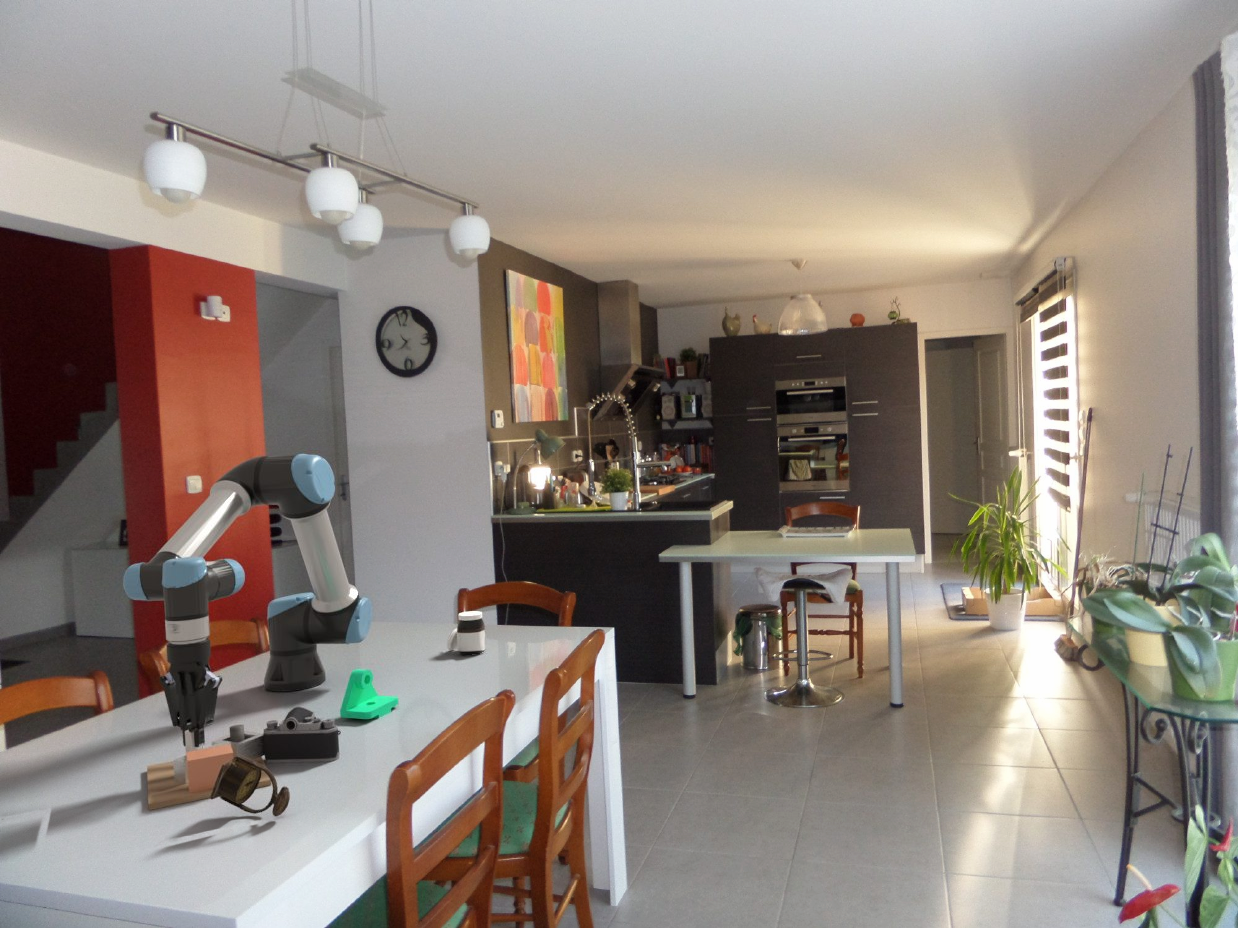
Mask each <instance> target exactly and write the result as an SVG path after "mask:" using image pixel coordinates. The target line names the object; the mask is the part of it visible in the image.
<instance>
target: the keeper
mask: <svg viewBox="0 0 1238 928" xmlns="http://www.w3.org/2000/svg"><path fill="white" fill-rule="evenodd" d="M205 748H206V747H205ZM185 756H186V758H187V765H188V781H189V793H193V792H198V791H203V790H208V789H213V788H214V785H215V782H216V779H217V777H218V774H219V772H220V769H221V767H222V765H223V764H225V763H227V762H229V761H231V760H232V759H234V758H233V750H232V747H231V744H228V745H222V746H217V747H211V748H206V749H204V748H203V749H200V750H195V751H189V752H186V751H185Z"/></svg>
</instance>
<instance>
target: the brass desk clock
mask: <svg viewBox="0 0 1238 928" xmlns="http://www.w3.org/2000/svg"><path fill="white" fill-rule="evenodd" d="M265 766H266V765H265ZM265 766H263V765H261V764H259V763H257V762H255V761H253V760H251V759H249V758H247V757H244V756H242V755H238V756H236V757H235V758H234V759H232V760H231V761H229V762H227V763H225V764H223V765H222V767H221V769H220V772H219V774H218V777H217V779H216V782H215V785H214V788H213V791H212V794H211V797H210V798H209V799H210V800H214V799H217V798H219V797H220V799H221V800H223V801H224V802H226V803H228V804H229V805H232V806H234V807H236V808H238V809H240V810H242V811H244V812H247V813H250V814H253V815H255V814H260V813H263V812H266V810H268V809H270V808H271V807H272V805H273V807H272V816H274V817H279V816H281V815H282V814H283V813H284V812H285V811H286V809H287V808H288V806H289V802H290V799H291V798H290V797H291V795H290V793H291V792H290V789H289V788H288V787H287V786H282V787H281V788H280V790H279V792H278V782H277V779H276V777H275V776H274V774H273V772H272V770H270V768H268V767H267V766H266V767H265ZM261 770H262V771H264V772H265V773H266V774H267V775H268V777H269V778H270V780H271V786H272V793H271V797H270V800H269V802H268V803H267V805H266V806H264V807H263V808H261V809H253V808H251V807H249V806H247V805H245V804H244V803H245V802H247V801H248V800H249V799H250V798H251V797H252V795H253V794H254V793H255V791H256V790H257V789H258V788H257V786H258V784H259V781H260V779H261V772H262V771H261Z"/></svg>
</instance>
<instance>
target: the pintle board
mask: <svg viewBox="0 0 1238 928" xmlns="http://www.w3.org/2000/svg"><path fill="white" fill-rule="evenodd" d="M244 726H245V725H244V724H235V725H231V726H230V727H229V735H230V742H237V743H238V742H241V741H243V740H244V731H245V727H244ZM253 761H255V762H257V763H259V764H261V765H263V766H265V767H266V768H267V766H266V764H265V761H264V759H263V756H261V757H259V758H257V759H254V760H253ZM261 771H262V770H261ZM146 775H147V797H148V799H147V800H148V811H151V810H158V809H161V808H167V807H171V806H176V805H181V804H186V803H190V802H194V801H200V800H205V799H210V797H211V794H212V791H213V789H208V790H203V791H198V792H193V793H189V783H186V784H184V783H179V782H175V779H174V763H173V760H172V761H167V762H161V763H156V764H153V765H152V764H150V765H147V766H146ZM269 786H272V782H271V780H270V778H269V777H268V775H267V774H266V773H265V772H264V771H262V772H261V779H260V781H259V784H258V786H257V788H256V789H258V788H264V787H269Z"/></svg>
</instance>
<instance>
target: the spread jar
mask: <svg viewBox="0 0 1238 928" xmlns="http://www.w3.org/2000/svg"><path fill="white" fill-rule="evenodd" d="M457 617H458V622H457V625H456V627H457V628H455V629H453V631H452V632H451V633H450V635H449V636H448V637H447V638H448V639H447V642H446V648H447V649H448V650H449V651H452V650H455V649H457V652H458V655H460V654H461V656H465V655H470V656H473V655H472V654H478V655H481V654H480V653H482V652H484V651H485V652H486V646H487V645H486V644H487V643H486V625H485V621H484V619H483V612H482V611H479V610H478V611H477V610H472V611H471V610H469V611H463V612H459V613H458V616H457ZM455 651H456V650H455ZM452 652H453V651H452ZM485 652H484V653H485ZM482 654H483V653H482Z"/></svg>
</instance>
